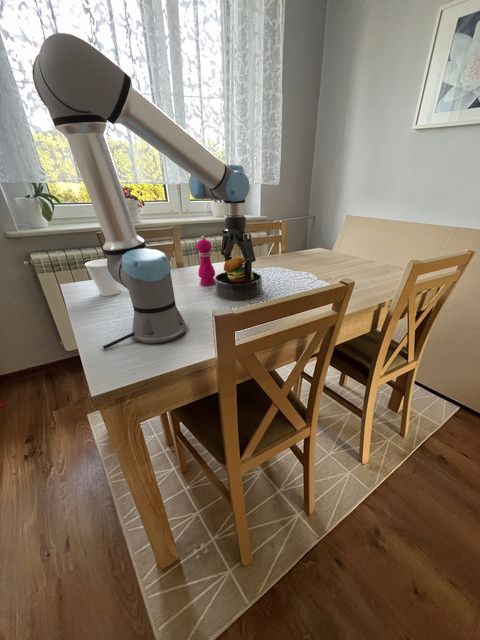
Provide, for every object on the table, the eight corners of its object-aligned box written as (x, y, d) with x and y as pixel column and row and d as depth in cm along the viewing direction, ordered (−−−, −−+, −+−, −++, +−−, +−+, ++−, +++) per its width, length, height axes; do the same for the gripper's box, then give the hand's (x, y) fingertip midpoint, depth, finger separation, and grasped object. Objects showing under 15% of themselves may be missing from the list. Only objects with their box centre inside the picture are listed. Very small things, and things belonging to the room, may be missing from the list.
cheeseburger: (251, 283, 110) (243, 257, 106) (225, 289, 113) (217, 263, 109) (256, 275, 119) (250, 251, 114) (232, 280, 122) (225, 257, 117)
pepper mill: (208, 287, 125) (203, 237, 115) (196, 284, 128) (190, 236, 118) (219, 282, 130) (215, 235, 120) (207, 280, 133) (202, 233, 123)
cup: (87, 296, 116) (76, 265, 109) (108, 287, 125) (100, 257, 119) (111, 299, 113) (102, 267, 106) (132, 289, 122) (124, 259, 116)
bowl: (235, 304, 107) (234, 287, 104) (207, 292, 119) (205, 276, 116) (271, 293, 118) (271, 277, 115) (242, 282, 130) (241, 268, 127)
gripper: (265, 217, 99) (265, 281, 110) (224, 212, 114) (228, 269, 125) (248, 220, 94) (250, 285, 106) (208, 214, 109) (213, 272, 121)
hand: (238, 276), depth 115 cm, fingers closed on cheeseburger, 11 cm apart
